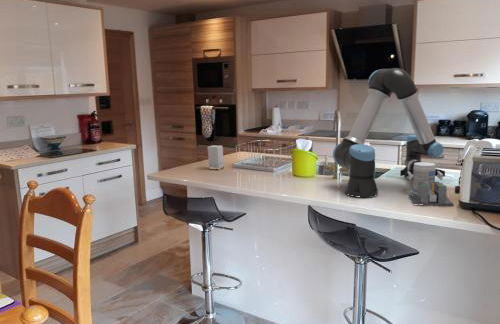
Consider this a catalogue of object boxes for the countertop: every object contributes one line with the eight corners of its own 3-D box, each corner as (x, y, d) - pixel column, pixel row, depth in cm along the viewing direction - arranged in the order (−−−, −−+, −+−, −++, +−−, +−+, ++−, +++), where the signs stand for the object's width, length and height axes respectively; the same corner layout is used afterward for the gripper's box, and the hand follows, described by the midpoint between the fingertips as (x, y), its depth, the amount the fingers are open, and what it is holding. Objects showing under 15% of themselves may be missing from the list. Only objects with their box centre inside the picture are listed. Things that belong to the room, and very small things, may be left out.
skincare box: (224, 168, 267) (223, 145, 264) (218, 170, 261) (217, 147, 258) (214, 167, 271) (213, 144, 268) (208, 169, 266) (207, 146, 263)
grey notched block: (408, 197, 186) (409, 179, 185) (445, 198, 183) (446, 180, 182) (413, 205, 175) (414, 186, 173) (453, 206, 172) (454, 186, 170)
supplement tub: (433, 197, 185) (434, 166, 182) (411, 195, 190) (412, 164, 187) (435, 192, 193) (436, 162, 191) (413, 190, 198) (415, 161, 195)
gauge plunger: (417, 195, 185) (417, 178, 183) (438, 195, 183) (439, 178, 181) (421, 201, 175) (422, 183, 173) (444, 201, 173) (445, 183, 171)
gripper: (442, 175, 205) (454, 185, 185) (391, 174, 210) (397, 184, 190) (443, 160, 204) (455, 169, 183) (391, 160, 209) (398, 169, 188)
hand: (426, 177), depth 187 cm, fingers open, 13 cm apart
